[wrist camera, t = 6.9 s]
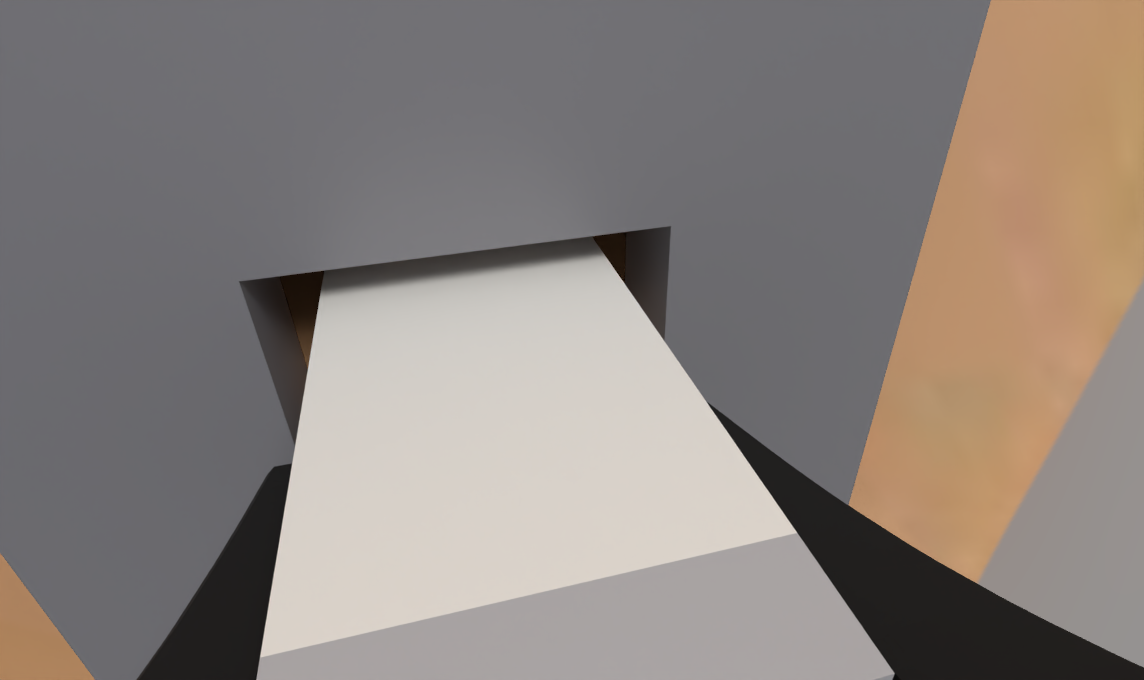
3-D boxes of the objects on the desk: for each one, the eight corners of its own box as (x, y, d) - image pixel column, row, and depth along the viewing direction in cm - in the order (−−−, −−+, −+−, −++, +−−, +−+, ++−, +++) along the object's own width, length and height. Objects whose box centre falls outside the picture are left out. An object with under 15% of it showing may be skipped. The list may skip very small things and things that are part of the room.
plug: (377, 453, 12) (374, 1067, 6) (326, 254, 10) (225, 862, 4) (587, 414, 13) (803, 918, 6) (581, 221, 11) (893, 674, 4)
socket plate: (184, 668, 14) (150, 799, 12) (-297, -121, 7) (-605, -135, 5) (778, 534, 17) (835, 623, 15) (919, -147, 9) (1080, -163, 7)
